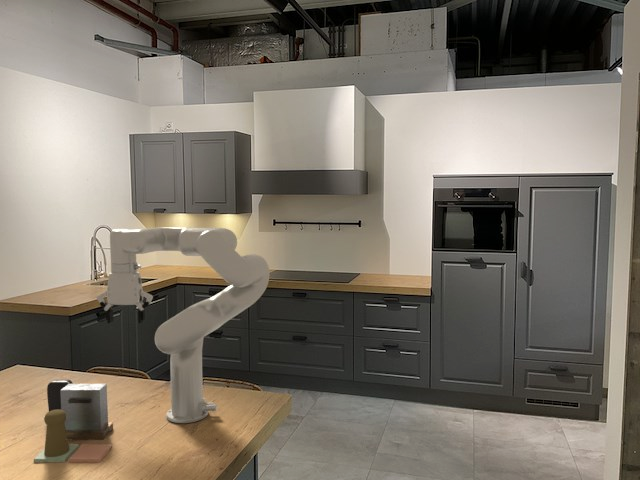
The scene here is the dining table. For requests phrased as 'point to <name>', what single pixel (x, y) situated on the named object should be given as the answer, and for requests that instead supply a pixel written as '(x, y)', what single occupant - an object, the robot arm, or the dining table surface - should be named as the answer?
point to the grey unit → (86, 411)
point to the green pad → (62, 458)
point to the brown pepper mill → (55, 434)
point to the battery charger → (56, 393)
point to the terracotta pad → (90, 453)
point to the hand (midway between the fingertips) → (125, 322)
